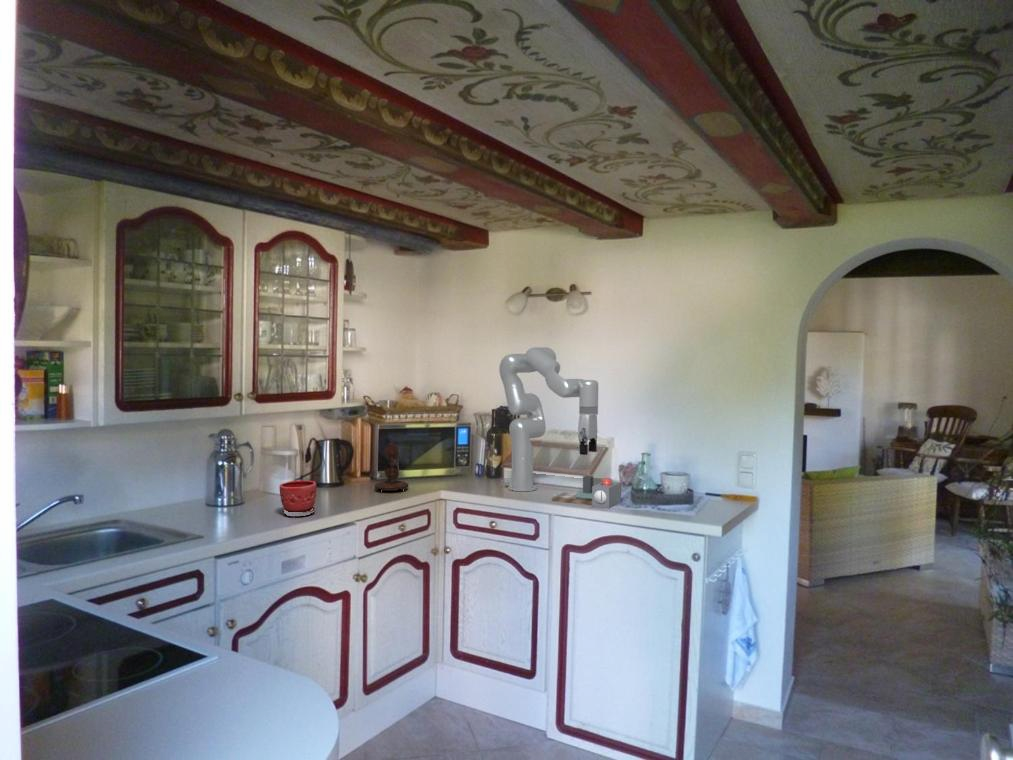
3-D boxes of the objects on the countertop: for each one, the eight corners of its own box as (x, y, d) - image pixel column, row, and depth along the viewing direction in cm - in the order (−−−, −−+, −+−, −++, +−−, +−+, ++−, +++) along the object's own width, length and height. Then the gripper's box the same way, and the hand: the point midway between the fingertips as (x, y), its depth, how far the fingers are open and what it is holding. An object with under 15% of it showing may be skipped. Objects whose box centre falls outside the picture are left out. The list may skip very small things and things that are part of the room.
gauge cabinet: (591, 506, 282) (591, 486, 282) (604, 500, 295) (604, 480, 295) (608, 508, 279) (608, 488, 279) (621, 501, 292) (621, 482, 292)
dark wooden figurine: (410, 493, 310) (409, 446, 309) (375, 494, 307) (375, 447, 306) (406, 486, 325) (406, 442, 324) (373, 488, 321) (373, 443, 320)
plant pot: (286, 511, 275) (286, 479, 274) (320, 511, 274) (320, 480, 274) (274, 519, 262) (274, 486, 261) (310, 519, 261) (310, 486, 261)
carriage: (575, 497, 289) (576, 477, 289) (583, 493, 296) (584, 474, 296) (592, 498, 286) (592, 478, 285) (599, 495, 293) (600, 475, 293)
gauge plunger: (601, 491, 286) (601, 479, 286) (604, 490, 290) (604, 477, 289) (609, 492, 285) (609, 480, 285) (612, 491, 288) (612, 478, 288)
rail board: (551, 500, 294) (551, 495, 294) (560, 496, 302) (560, 491, 302) (594, 505, 285) (594, 499, 285) (602, 501, 293) (602, 495, 293)
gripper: (587, 408, 299) (587, 449, 300) (571, 411, 284) (571, 455, 285) (605, 409, 296) (604, 451, 296) (589, 412, 280) (588, 456, 281)
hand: (588, 453), depth 291 cm, fingers open, 9 cm apart
